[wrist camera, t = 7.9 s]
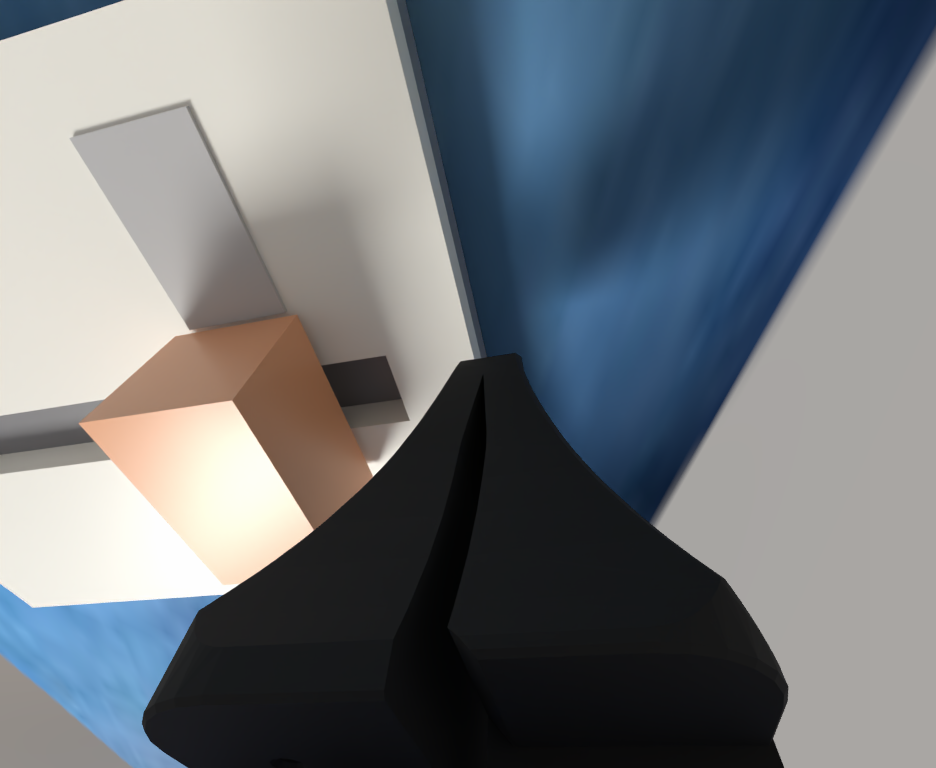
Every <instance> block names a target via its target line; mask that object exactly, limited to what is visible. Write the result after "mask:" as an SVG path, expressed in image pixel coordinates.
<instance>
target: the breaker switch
mask: <svg viewBox="0 0 936 768" xmlns="http://www.w3.org/2000/svg"><path fill="white" fill-rule="evenodd" d="M79 425H80V426H81V427H82V428H83V429H84V430H85V431H86V432H87V433H88V435H89V436H90V437H91V438H92V439H93V440H94V441H95V442H96V444H97V445H98V446H99V447H100V448H101V449H102V450H103V451H104V452H105V454H106V455H107V456H108V457H109V458H110V459H111V460H112V461H113V463H114V464H115V465H116V466H117V467H118V468H119V469H120V470H121V471H122V473H123V474H124V475H125V476H126V477H127V478H128V479H129V480H130V482H131V483H132V484H133V485H134V486H135V487H136V488H137V489H138V491H139V492H140V493H141V494H142V495H143V496H144V497H145V498H146V499H147V501H148V502H149V503H150V504H151V505H152V506H153V507H154V508H155V510H156V511H157V512H158V513H159V514H160V515H161V516H162V517H163V518H164V520H165V521H166V522H167V523H168V524H169V525H170V526H171V527H172V529H173V530H174V531H175V532H176V533H177V534H178V535H179V536H180V537H181V539H182V540H183V541H184V542H185V543H186V544H187V545H188V546H189V548H190V549H191V550H192V551H193V552H194V553H195V554H196V555H197V556H198V558H199V559H200V560H201V561H202V562H203V563H204V564H205V565H206V567H207V568H208V569H209V570H210V571H211V572H212V573H213V574H214V576H215V577H216V578H217V579H218V580H219V581H220V582H221V583H222V584H223V585H231V584H241V583H242V582H244V581H245V580H247V579H248V578H250V577H251V576H253V575H254V574H256V573H257V572H259V571H260V570H262V569H263V568H264V567H266V566H267V565H269V564H270V563H271V562H273V561H274V560H276V559H277V558H278V557H280V556H281V555H282V554H284V553H285V552H286V551H288V550H289V549H290V548H292V547H293V546H294V545H296V544H297V543H298V542H300V541H301V540H302V539H304V538H305V537H306V536H307V535H309V534H310V533H311V532H312V531H314V530H315V529H316V528H317V527H319V526H320V525H321V524H322V523H323V522H325V521H326V520H327V519H328V518H329V517H330V516H331V515H333V514H334V513H335V512H336V511H337V510H338V509H339V508H340V507H341V506H343V505H344V504H345V503H346V502H347V501H348V500H349V499H350V498H352V497H353V496H354V495H355V494H356V493H357V492H358V491H359V490H360V489H361V488H362V487H363V486H364V485H366V484H367V483H368V482H369V480H370V479H371V478H372V477H373V475H372V473H371V471H370V469H369V466H368V464H367V462H366V460H365V458H364V456H363V454H362V452H361V449H360V447H359V445H358V443H357V441H356V439H355V437H354V435H353V432H352V430H351V428H350V426H349V424H348V422H347V420H346V418H345V415H344V413H343V411H342V409H341V407H340V405H339V403H338V400H337V398H336V396H335V394H334V392H333V390H332V388H331V386H330V383H329V381H328V379H327V377H326V375H325V373H324V371H323V369H322V366H321V364H320V362H319V360H318V358H317V356H316V354H315V352H314V349H313V347H312V345H311V343H310V341H309V339H308V337H307V335H306V332H305V330H304V328H303V326H302V324H301V322H300V320H299V318H298V315H292V316H286V317H280V318H275V319H269V320H264V321H258V322H252V323H247V324H241V325H236V326H230V327H224V328H219V329H213V330H208V331H202V332H196V333H191V334H185V335H180V336H175V337H174V338H173V339H172V340H170V341H169V342H168V343H167V344H166V345H165V346H164V347H163V348H162V349H160V350H159V351H158V352H157V353H156V354H155V355H154V356H153V357H152V358H150V359H149V360H148V361H147V362H146V363H145V364H144V365H143V366H142V367H140V368H139V369H138V370H137V371H136V372H135V373H134V374H133V375H131V376H130V377H129V378H128V379H127V380H126V381H125V382H124V383H123V384H121V385H120V386H119V387H118V388H117V389H116V390H115V391H114V392H113V393H111V394H110V395H109V396H108V397H107V398H106V399H105V400H104V401H103V402H101V403H100V404H99V405H98V406H97V407H96V408H95V409H94V410H93V411H91V412H90V413H89V414H88V415H87V416H86V417H85V418H84V419H83V420H81V421H80V422H79Z"/></svg>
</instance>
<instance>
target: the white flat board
mask: <svg viewBox="0 0 936 768" xmlns="http://www.w3.org/2000/svg"><path fill="white" fill-rule="evenodd" d="M292 315H298V318H299V320H300V322H301V324H302V326H303V328H304V330H305V332H306V335H307V337H308V339H309V341H310V343H311V345H312V347H313V349H314V352H315V354H316V356H317V358H318V360H319V362H320V364H321V366H322V369H323V371H324V373H325V375H326V377H327V379H328V381H329V383H330V386H331V388H332V390H333V392H334V394H335V396H336V398H337V400H338V403H339V405H340V407H341V409H342V411H343V413H344V415H345V418H346V420H347V422H348V424H349V426H350V428H351V430H352V432H353V435H354V437H355V439H356V441H357V443H358V445H359V447H360V449H361V452H362V454H363V456H364V458H365V460H366V462H367V464H368V466H369V469H370V471H371V473H372V475H373V476H374V475H375V474H376V473H377V472H378V471H379V470H380V469H381V468H382V467H383V466H384V465H385V464H386V463H387V462H388V460H389V459H390V458H391V457H392V456H393V455H394V454H395V452H396V451H397V450H398V449H399V447H400V446H401V445H402V444H403V442H404V441H405V440H406V439H407V437H408V436H409V435H410V433H411V432H412V431H413V430H414V428H415V427H416V426H417V424H418V423H419V422H420V420H421V419H422V418H423V416H424V415H425V413H426V412H427V410H428V409H429V407H430V406H431V405H432V403H433V402H434V400H435V399H436V397H437V396H438V394H439V393H440V391H441V390H442V388H443V387H444V385H445V383H446V382H447V380H448V379H449V377H450V375H451V374H452V372H453V371H454V369H455V368H456V366H457V365H458V364H459V362H460V361H465V360H472V359H479V358H486V357H487V355H486V351H485V346H484V342H483V338H482V333H481V329H480V325H479V320H478V316H477V311H476V307H475V303H474V298H473V294H472V290H471V285H470V281H469V276H468V272H467V268H466V263H465V259H464V254H463V250H462V246H461V241H460V237H459V233H458V228H457V224H456V219H455V215H454V211H453V206H452V202H451V198H450V193H449V189H448V184H447V180H446V176H445V171H444V167H443V162H442V158H441V154H440V149H439V145H438V141H437V136H436V132H435V127H434V123H433V119H432V114H431V110H430V106H429V101H428V97H427V92H426V88H425V84H424V79H423V75H422V70H421V66H420V62H419V57H418V53H417V49H416V44H415V40H414V35H413V31H412V27H411V22H410V18H409V14H408V9H407V5H406V0H124V1H121V2H118V3H115V4H111V5H108V6H105V7H102V8H99V9H96V10H93V11H90V12H87V13H84V14H81V15H78V16H75V17H72V18H68V19H65V20H62V21H59V22H56V23H53V24H50V25H47V26H44V27H41V28H38V29H35V30H32V31H29V32H26V33H22V34H19V35H16V36H13V37H10V38H7V39H4V40H1V41H0V584H1V585H3V586H4V587H6V588H7V589H8V590H10V591H11V592H12V593H14V594H15V595H16V596H18V597H19V598H20V599H22V600H23V601H25V602H26V603H27V604H29V605H30V606H31V607H33V608H34V607H49V606H63V605H77V604H92V603H106V602H121V601H135V600H150V599H164V598H178V597H193V596H207V595H222V594H225V593H227V592H228V591H230V590H232V589H233V588H235V587H236V586H238V585H239V584H231V585H223V584H222V583H221V582H220V581H219V580H218V579H217V578H216V577H215V576H214V574H213V573H212V572H211V571H210V570H209V569H208V568H207V567H206V565H205V564H204V563H203V562H202V561H201V560H200V559H199V558H198V556H197V555H196V554H195V553H194V552H193V551H192V550H191V549H190V548H189V546H188V545H187V544H186V543H185V542H184V541H183V540H182V539H181V537H180V536H179V535H178V534H177V533H176V532H175V531H174V530H173V529H172V527H171V526H170V525H169V524H168V523H167V522H166V521H165V520H164V518H163V517H162V516H161V515H160V514H159V513H158V512H157V511H156V510H155V508H154V507H153V506H152V505H151V504H150V503H149V502H148V501H147V499H146V498H145V497H144V496H143V495H142V494H141V493H140V492H139V491H138V489H137V488H136V487H135V486H134V485H133V484H132V483H131V482H130V480H129V479H128V478H127V477H126V476H125V475H124V474H123V473H122V471H121V470H120V469H119V468H118V467H117V466H116V465H115V464H114V463H113V461H112V460H111V459H110V458H109V457H108V456H107V455H106V454H105V452H104V451H103V450H102V449H101V448H100V447H99V446H98V445H97V444H96V442H95V441H94V440H93V439H92V438H91V437H90V436H89V435H88V433H87V432H86V431H85V430H84V429H83V428H82V427H81V426H80V425H79V422H80V421H81V420H83V419H84V418H85V417H86V416H87V415H88V414H89V413H90V412H91V411H93V410H94V409H95V408H96V407H97V406H98V405H99V404H100V403H101V402H103V401H104V400H105V399H106V398H107V397H108V396H109V395H110V394H111V393H113V392H114V391H115V390H116V389H117V388H118V387H119V386H120V385H121V384H123V383H124V382H125V381H126V380H127V379H128V378H129V377H130V376H131V375H133V374H134V373H135V372H136V371H137V370H138V369H139V368H140V367H142V366H143V365H144V364H145V363H146V362H147V361H148V360H149V359H150V358H152V357H153V356H154V355H155V354H156V353H157V352H158V351H159V350H160V349H162V348H163V347H164V346H165V345H166V344H167V343H168V342H169V341H170V340H172V339H173V338H174V337H175V336H180V335H185V334H191V333H196V332H202V331H208V330H213V329H219V328H224V327H230V326H236V325H241V324H247V323H252V322H258V321H264V320H269V319H275V318H280V317H286V316H292Z"/></svg>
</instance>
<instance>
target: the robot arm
mask: <svg viewBox="0 0 936 768" xmlns="http://www.w3.org/2000/svg"><path fill="white" fill-rule="evenodd" d="M787 701H788V685H787V683H786V681H785V678H784V676H783V673H782V671H781V668H780V666H779V664H778V662H777V660H776V658H775V656H774V654H773V652H772V651H771V649H770V647H769V645H768V644H767V642H766V641H765V639H764V637H763V635H762V634H761V632H760V630H759V628H758V627H757V625H756V624H755V622H754V620H753V619H752V617H751V616H750V614H749V613H748V611H747V610H746V608H745V607H744V605H743V604H742V602H741V601H740V599H739V598H738V597H737V595H736V594H735V592H734V591H733V589H732V588H731V587H730V585H729V584H728V583H727V581H726V580H725V579H724V578H723V577H721V576H720V575H718V574H717V573H716V572H714V571H713V570H711V569H710V568H708V567H707V566H705V565H704V564H703V563H701V562H700V561H698V560H697V559H695V558H694V557H693V556H691V555H690V554H689V553H687V552H686V551H685V550H683V549H682V548H681V547H679V546H678V545H677V544H675V543H674V542H673V541H671V540H670V539H669V538H667V537H666V536H665V535H664V534H662V533H661V532H660V531H659V530H657V529H656V528H655V527H654V526H653V525H651V524H650V523H649V522H648V521H646V520H645V519H644V518H643V517H641V516H640V515H639V514H638V513H637V512H636V511H635V510H634V509H632V508H631V507H630V506H629V505H628V504H627V503H626V502H625V501H624V500H623V499H621V498H620V497H619V496H618V495H617V494H616V493H615V492H614V491H613V490H612V489H610V488H609V487H608V486H607V485H606V484H605V483H604V482H603V481H602V480H601V479H600V478H599V477H598V476H597V475H596V474H595V473H594V472H593V471H592V470H591V469H590V467H589V466H588V465H587V464H586V463H585V462H584V461H583V460H582V459H581V458H580V456H579V455H578V454H577V453H576V452H575V451H574V450H573V448H572V447H571V446H570V445H569V443H568V442H567V441H566V440H565V438H564V437H563V436H562V435H561V433H560V432H559V430H558V429H557V428H556V426H555V425H554V424H553V422H552V421H551V419H550V418H549V416H548V415H547V413H546V412H545V410H544V409H543V407H542V405H541V404H540V402H539V400H538V399H537V397H536V395H535V393H534V392H533V390H532V388H531V386H530V384H529V382H528V379H527V377H526V375H525V372H524V369H523V364H522V358H521V356H519V355H518V354H516V353H512V354H506V355H499V356H492V357H486V358H479V359H472V360H465V361H460V362H459V364H458V365H457V366H456V368H455V369H454V371H453V372H452V374H451V375H450V377H449V379H448V380H447V382H446V383H445V385H444V387H443V388H442V390H441V391H440V393H439V394H438V396H437V397H436V399H435V400H434V402H433V403H432V405H431V406H430V407H429V409H428V410H427V412H426V413H425V415H424V416H423V418H422V419H421V420H420V422H419V423H418V424H417V426H416V427H415V428H414V430H413V431H412V432H411V433H410V435H409V436H408V437H407V439H406V440H405V441H404V442H403V444H402V445H401V446H400V447H399V449H398V450H397V451H396V452H395V454H394V455H393V456H392V457H391V458H390V459H389V460H388V462H387V463H386V464H385V465H384V466H383V467H382V468H381V469H380V470H379V471H378V472H377V473H376V474H375V475H374V476H373V477H372V478H371V479H370V480H369V482H368V483H367V484H366V485H364V486H363V487H362V488H361V489H360V490H359V491H358V492H357V493H356V494H355V495H354V496H353V497H352V498H350V499H349V500H348V501H347V502H346V503H345V504H344V505H343V506H341V507H340V508H339V509H338V510H337V511H336V512H335V513H334V514H333V515H331V516H330V517H329V518H328V519H327V520H326V521H325V522H323V523H322V524H321V525H320V526H319V527H317V528H316V529H315V530H314V531H312V532H311V533H310V534H309V535H307V536H306V537H305V538H304V539H302V540H301V541H300V542H298V543H297V544H296V545H294V546H293V547H292V548H290V549H289V550H288V551H286V552H285V553H284V554H282V555H281V556H280V557H278V558H277V559H276V560H274V561H273V562H271V563H270V564H269V565H267V566H266V567H264V568H263V569H262V570H260V571H259V572H257V573H256V574H254V575H253V576H251V577H250V578H248V579H247V580H245V581H244V582H242V583H241V584H239V585H238V586H236V587H235V588H233V589H232V590H230V591H228V592H227V593H225V594H224V595H222V596H221V597H219V598H218V599H216V600H215V601H213V602H212V603H210V604H209V605H207V606H205V607H204V608H202V609H201V610H199V611H198V613H197V615H196V617H195V618H194V620H193V622H192V624H191V626H190V627H189V629H188V631H187V633H186V635H185V637H184V639H183V640H182V642H181V644H180V646H179V648H178V650H177V652H176V653H175V655H174V657H173V659H172V661H171V663H170V665H169V667H168V668H167V670H166V672H165V674H164V676H163V678H162V680H161V681H160V683H159V685H158V687H157V689H156V691H155V693H154V694H153V696H152V698H151V700H150V702H149V704H148V706H147V707H146V709H145V711H144V714H143V720H142V725H143V728H144V731H145V733H146V734H147V736H148V738H149V739H150V741H151V742H152V743H153V744H154V745H156V746H157V747H158V748H159V749H161V750H162V751H163V752H164V753H166V754H168V755H169V756H171V757H172V758H174V759H175V760H177V761H178V762H180V763H182V764H183V765H185V766H186V767H188V768H784V766H783V763H782V761H781V759H780V756H779V753H778V751H777V748H776V746H775V743H774V740H773V737H774V734H775V732H776V729H777V727H778V724H779V722H780V719H781V717H782V714H783V712H784V709H785V706H786V704H787Z"/></svg>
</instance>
